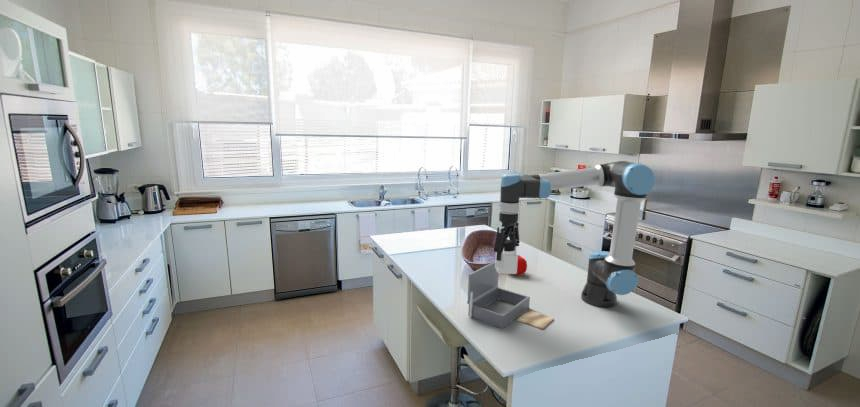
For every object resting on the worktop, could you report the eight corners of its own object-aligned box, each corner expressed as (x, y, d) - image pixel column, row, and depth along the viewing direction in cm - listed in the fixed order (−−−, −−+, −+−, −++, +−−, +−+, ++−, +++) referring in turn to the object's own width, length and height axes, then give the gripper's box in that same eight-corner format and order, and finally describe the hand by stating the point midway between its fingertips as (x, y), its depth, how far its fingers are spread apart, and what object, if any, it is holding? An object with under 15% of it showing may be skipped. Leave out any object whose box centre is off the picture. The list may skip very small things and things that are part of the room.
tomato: (522, 279, 204) (524, 260, 202) (499, 273, 211) (501, 255, 209) (529, 272, 214) (530, 254, 212) (507, 267, 220) (508, 250, 218)
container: (512, 267, 167) (514, 238, 165) (517, 274, 159) (518, 243, 157) (494, 267, 167) (496, 238, 164) (498, 274, 159) (499, 243, 157)
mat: (553, 319, 161) (553, 318, 161) (542, 329, 153) (543, 328, 153) (528, 311, 168) (528, 310, 168) (517, 320, 159) (517, 319, 159)
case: (529, 307, 172) (532, 268, 168) (501, 329, 152) (504, 285, 149) (495, 296, 182) (497, 259, 178) (465, 315, 163) (467, 274, 159)
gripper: (513, 206, 169) (511, 255, 174) (486, 215, 152) (483, 269, 156) (530, 209, 165) (526, 259, 169) (503, 218, 147) (500, 273, 151)
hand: (506, 264), depth 163 cm, fingers closed on container, 10 cm apart
